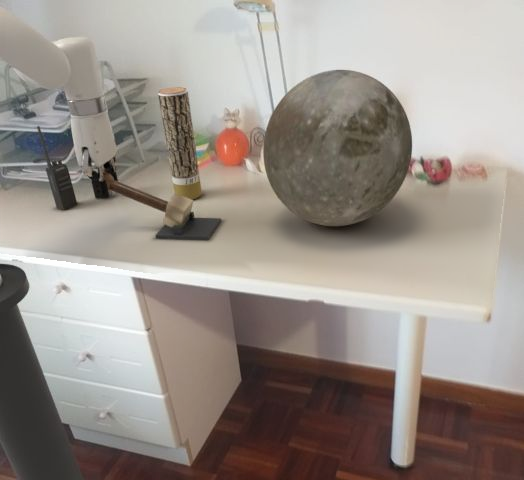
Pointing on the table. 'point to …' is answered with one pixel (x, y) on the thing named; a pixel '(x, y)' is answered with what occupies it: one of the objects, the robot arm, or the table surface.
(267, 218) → the table surface
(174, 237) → the stand
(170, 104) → the paper tube
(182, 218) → the mallet
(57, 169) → the walkie-talkie
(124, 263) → the table surface
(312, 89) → the globe
